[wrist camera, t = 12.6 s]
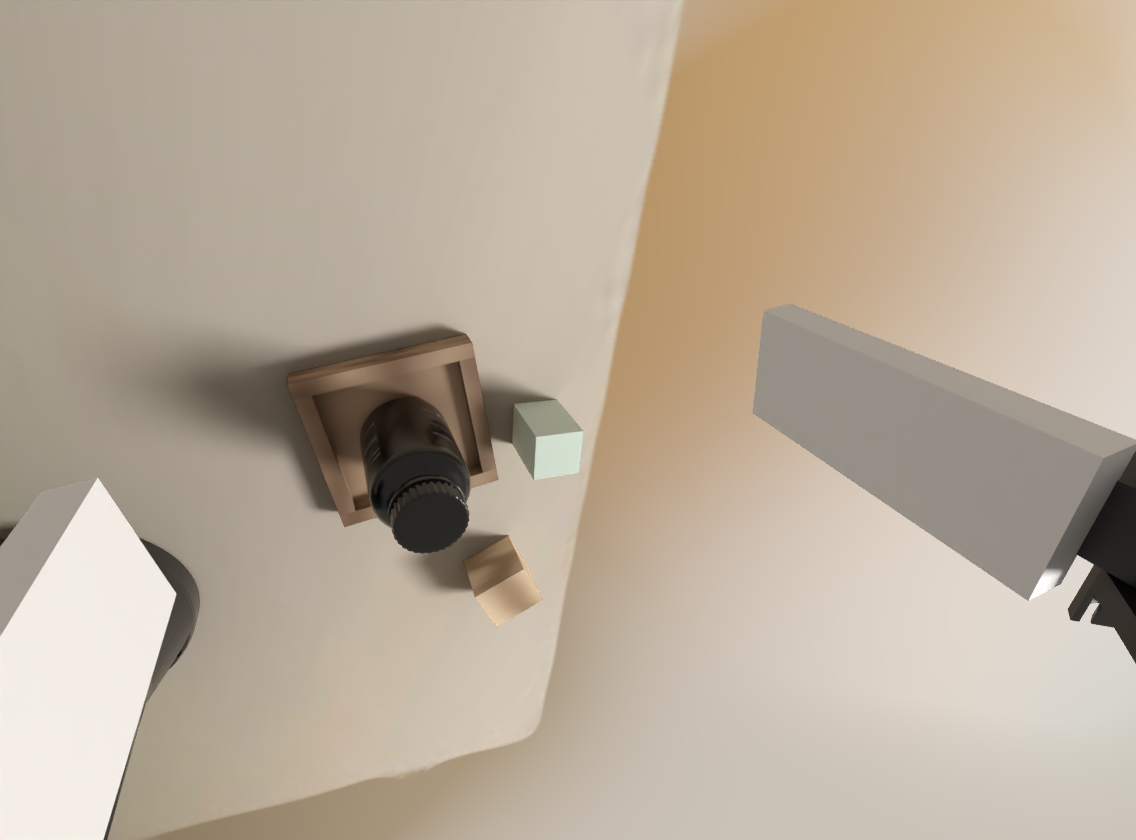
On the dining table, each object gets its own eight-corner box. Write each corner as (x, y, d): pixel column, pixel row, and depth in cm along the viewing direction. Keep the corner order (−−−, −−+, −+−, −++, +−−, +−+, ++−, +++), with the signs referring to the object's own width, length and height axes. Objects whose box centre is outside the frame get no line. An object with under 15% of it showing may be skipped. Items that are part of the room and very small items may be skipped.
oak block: (484, 589, 56) (496, 626, 52) (463, 560, 53) (475, 597, 49) (526, 565, 56) (542, 599, 52) (508, 534, 53) (523, 569, 49)
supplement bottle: (398, 483, 45) (420, 584, 35) (339, 431, 41) (346, 529, 31) (464, 434, 45) (504, 521, 36) (412, 377, 41) (441, 457, 31)
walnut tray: (343, 512, 45) (344, 527, 44) (288, 373, 38) (287, 385, 37) (492, 467, 49) (498, 479, 47) (466, 334, 42) (472, 342, 40)
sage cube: (512, 443, 48) (533, 479, 44) (513, 403, 47) (536, 437, 42) (553, 438, 50) (579, 472, 45) (556, 399, 48) (583, 430, 43)
